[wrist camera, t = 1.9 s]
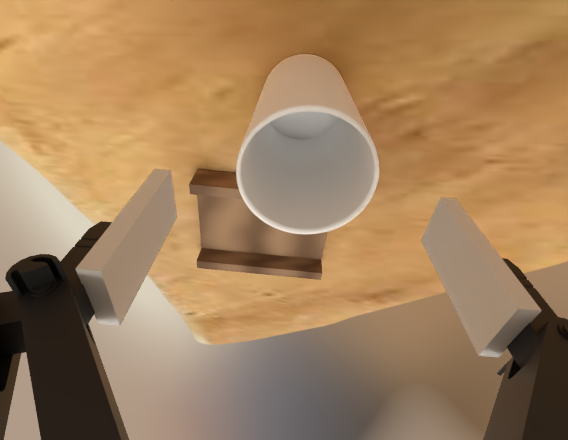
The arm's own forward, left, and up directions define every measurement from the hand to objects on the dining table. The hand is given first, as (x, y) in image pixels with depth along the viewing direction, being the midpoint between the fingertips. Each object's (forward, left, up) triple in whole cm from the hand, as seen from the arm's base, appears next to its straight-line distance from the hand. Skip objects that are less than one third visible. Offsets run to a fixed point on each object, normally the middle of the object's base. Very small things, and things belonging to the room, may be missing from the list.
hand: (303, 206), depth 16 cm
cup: (0, 0, -19) cm, 19 cm away
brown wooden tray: (+3, +15, -19) cm, 24 cm away
